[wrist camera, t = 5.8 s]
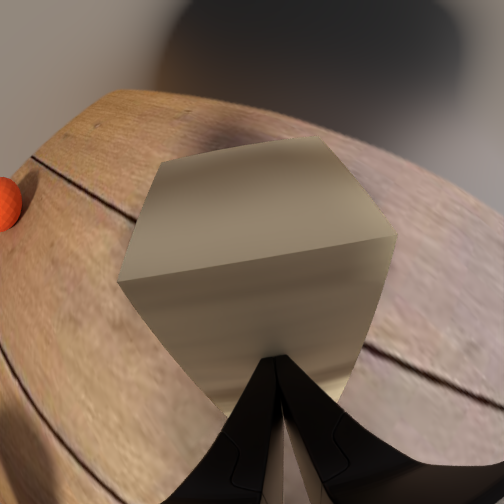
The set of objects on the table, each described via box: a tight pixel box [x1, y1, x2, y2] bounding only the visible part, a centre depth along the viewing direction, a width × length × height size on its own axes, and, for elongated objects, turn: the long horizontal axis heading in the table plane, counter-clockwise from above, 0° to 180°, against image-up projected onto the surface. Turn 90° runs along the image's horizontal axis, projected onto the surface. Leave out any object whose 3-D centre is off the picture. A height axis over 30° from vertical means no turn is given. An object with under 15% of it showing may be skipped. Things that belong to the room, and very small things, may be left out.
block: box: [117, 136, 398, 417], centre depth 12 cm, size 6×6×12 cm
